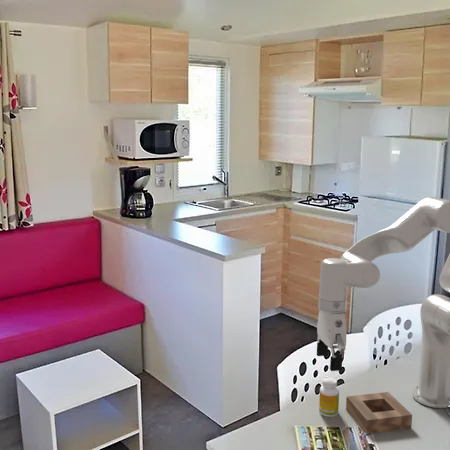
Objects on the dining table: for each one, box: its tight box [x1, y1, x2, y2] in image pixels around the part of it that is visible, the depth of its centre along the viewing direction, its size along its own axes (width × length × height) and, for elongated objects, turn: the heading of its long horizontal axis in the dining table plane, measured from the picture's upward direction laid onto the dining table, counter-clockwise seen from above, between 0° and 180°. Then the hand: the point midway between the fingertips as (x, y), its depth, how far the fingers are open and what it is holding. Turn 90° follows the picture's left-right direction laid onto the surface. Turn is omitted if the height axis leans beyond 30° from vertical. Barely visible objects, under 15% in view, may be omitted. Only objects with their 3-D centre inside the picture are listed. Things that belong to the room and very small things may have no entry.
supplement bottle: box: [318, 377, 340, 418], centre depth 157 cm, size 5×5×10 cm
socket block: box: [345, 391, 413, 435], centre depth 154 cm, size 13×13×4 cm
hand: (328, 362), depth 155 cm, fingers open, 9 cm apart
